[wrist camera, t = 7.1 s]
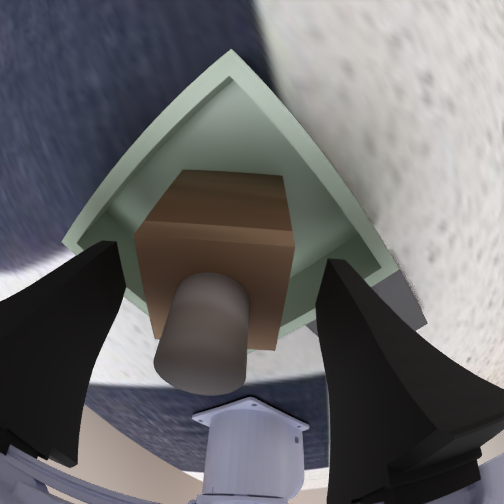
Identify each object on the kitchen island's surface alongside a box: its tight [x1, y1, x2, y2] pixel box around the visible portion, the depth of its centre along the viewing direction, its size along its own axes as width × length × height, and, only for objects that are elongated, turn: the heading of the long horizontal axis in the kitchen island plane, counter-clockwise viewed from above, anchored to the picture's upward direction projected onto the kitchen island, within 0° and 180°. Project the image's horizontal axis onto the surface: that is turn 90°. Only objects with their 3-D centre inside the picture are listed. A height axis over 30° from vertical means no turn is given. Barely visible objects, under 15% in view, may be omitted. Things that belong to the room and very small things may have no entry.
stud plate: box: [306, 269, 428, 336], centre depth 15 cm, size 6×6×5 cm
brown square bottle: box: [134, 170, 295, 395], centre depth 10 cm, size 4×4×8 cm
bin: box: [62, 49, 399, 354], centre depth 12 cm, size 10×10×4 cm
